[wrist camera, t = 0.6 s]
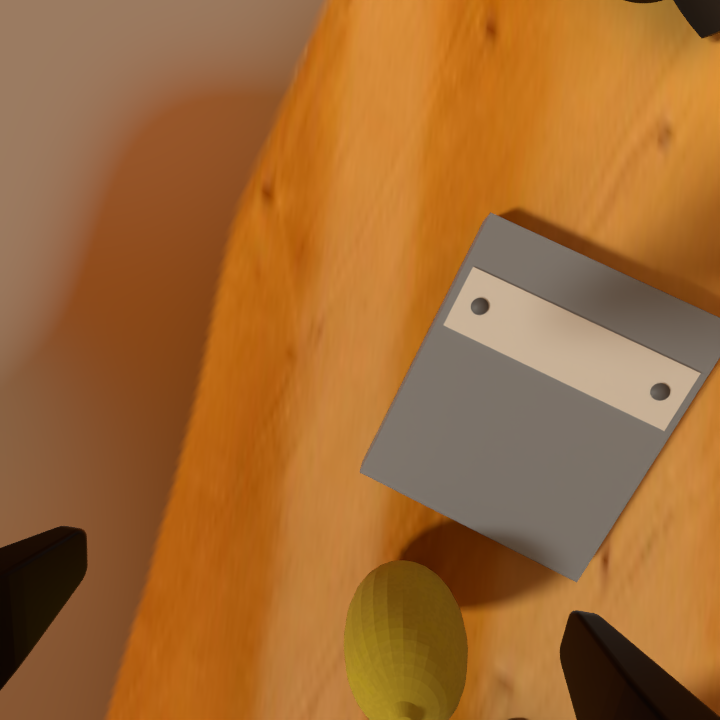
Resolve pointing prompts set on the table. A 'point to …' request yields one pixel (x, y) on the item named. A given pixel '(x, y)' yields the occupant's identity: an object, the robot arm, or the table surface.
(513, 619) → the table surface
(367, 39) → the table surface
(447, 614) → the lemon
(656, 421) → the grey flat block
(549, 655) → the table surface
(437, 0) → the table surface
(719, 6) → the black piece
